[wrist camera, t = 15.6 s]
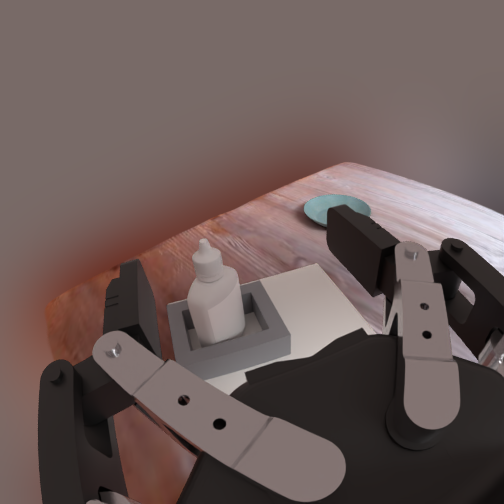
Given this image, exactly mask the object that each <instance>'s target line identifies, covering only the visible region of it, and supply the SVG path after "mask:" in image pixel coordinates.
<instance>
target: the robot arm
mask: <svg viewBox="0 0 504 504" xmlns="http://www.w3.org/2000/svg"><path fill="white" fill-rule="evenodd" d="M326 239H327V245H328V247H329V250H330V251H331V252H332V254H333V255H334V256H335V257H336V258H337V259H338V260H339V261H340V262H341V263H342V264H343V265H344V266H345V267H346V268H347V270H348V271H349V272H350V273H351V274H352V275H353V276H354V277H355V278H356V279H357V280H358V282H359V283H360V284H361V285H362V286H363V287H364V288H365V289H366V290H367V291H368V293H369V294H370V295H371V296H372V297H375V296H377V295H380V294H382V293H383V294H384V295H385V298H384V308H383V333H382V334H372V335H368V334H367V333H366V332H365V330H364V329H363V328H360V329H357V330H355V331H353V332H351V333H348V334H346V335H344V336H341V337H339V338H336V339H335V340H334V341H332V342H331V343H330V344H328V345H327V346H325V347H324V348H323V349H321V350H320V351H318V352H317V353H316V354H314V355H313V356H310V357H306V358H299V359H292V360H285V361H278V362H274V363H271V364H268V365H265V366H262V367H259V368H256V369H253V370H250V371H247V372H244V373H245V376H246V380H247V381H246V382H245V383H243V384H242V385H240V386H239V387H238V388H236V389H235V390H234V391H233V392H232V393H231V394H230V395H228V394H226V393H224V392H222V391H221V390H219V389H217V388H216V387H214V386H212V385H211V384H209V383H207V382H206V381H204V380H203V379H201V378H199V377H198V376H196V375H195V374H193V373H192V372H190V371H189V370H187V369H185V368H184V367H182V366H181V365H179V364H178V363H176V362H175V361H173V360H171V359H167V360H166V361H165V362H164V361H163V360H162V354H161V347H160V339H159V332H158V324H157V315H156V306H155V300H154V296H153V292H152V289H151V287H150V285H149V282H148V280H147V277H146V275H145V272H144V270H143V267H142V265H141V262H140V260H139V259H136V260H132V261H129V262H126V263H122V264H121V265H120V277H119V278H116V279H112V281H111V282H110V284H109V286H108V287H107V289H106V301H105V311H104V325H103V336H102V337H100V338H99V339H98V340H97V342H96V343H95V345H94V347H93V353H92V354H93V355H92V356H90V357H89V358H87V359H86V360H84V361H82V362H80V363H78V364H76V365H75V366H72V365H71V363H70V362H68V361H66V360H56V361H54V362H52V363H51V364H49V365H48V366H47V367H46V368H45V370H44V371H43V373H42V376H41V380H40V391H39V410H38V454H39V472H40V483H41V493H42V501H43V504H142V503H140V502H138V501H136V500H134V499H131V498H129V497H128V493H127V489H126V484H125V480H124V475H123V471H122V466H121V461H120V456H119V450H118V445H117V439H116V433H115V426H114V419H113V415H115V414H117V413H118V412H120V411H122V410H124V409H126V408H128V407H129V406H131V405H133V406H134V407H136V408H137V409H138V410H139V411H140V412H141V413H142V414H143V415H145V416H146V417H147V418H148V419H149V420H150V421H152V422H153V423H154V424H155V425H156V426H158V427H159V428H160V429H161V430H162V431H164V432H165V433H166V434H167V435H168V436H170V437H171V438H172V439H173V440H174V441H175V442H177V443H178V444H179V445H180V446H182V447H183V448H184V449H185V450H187V451H188V452H189V453H191V454H192V455H194V456H195V457H196V458H197V460H196V462H195V465H194V467H193V469H192V471H191V473H190V475H189V478H188V480H187V482H186V484H185V486H184V488H183V491H182V493H181V495H180V497H179V499H178V501H177V503H176V504H504V276H503V275H501V274H500V273H499V272H498V271H497V270H496V269H495V268H494V267H493V266H492V265H490V264H489V263H488V262H487V261H486V260H485V259H484V258H482V257H481V256H480V255H479V254H478V253H477V252H475V251H474V250H473V249H472V248H471V247H469V246H468V245H467V244H466V243H464V242H463V241H461V240H458V239H454V238H447V239H445V240H443V241H442V244H441V248H440V250H435V251H427V250H426V249H425V248H424V247H423V246H421V245H420V244H418V243H415V242H409V241H406V242H400V241H399V240H397V239H396V238H395V237H394V236H393V235H391V234H390V233H389V232H388V231H386V230H385V229H384V228H382V227H381V226H380V225H379V224H377V223H375V221H373V220H372V219H371V218H370V217H368V216H366V215H363V214H361V213H358V212H355V211H354V210H353V209H351V208H350V207H349V206H347V205H346V204H342V205H338V206H334V207H330V208H328V210H327V237H326ZM461 281H463V282H464V283H465V284H466V285H467V286H468V287H469V288H470V289H471V290H472V291H473V292H474V294H475V304H474V306H473V305H472V304H471V303H470V302H469V301H468V300H467V299H466V298H465V297H464V296H463V295H462V294H461V293H460V292H459V291H458V288H459V286H460V283H461ZM448 324H449V325H450V327H451V328H452V329H453V330H454V331H455V332H456V334H457V335H458V336H459V337H460V338H461V340H462V341H463V342H464V343H465V345H466V346H467V347H468V348H469V350H470V351H471V352H472V353H473V355H474V356H475V357H476V358H477V360H478V361H479V364H478V363H474V362H471V361H468V360H465V359H462V358H459V357H456V356H453V355H452V349H451V341H450V333H449V325H448Z"/></svg>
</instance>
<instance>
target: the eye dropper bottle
mask: <svg viewBox="0 0 504 504" xmlns="http://www.w3.org/2000/svg"><path fill="white" fill-rule="evenodd" d="M192 260H193V264H194V268H195V272H196V276H197V277H196V278H195V280H194V282H193V283H192V285H191V287H190V290H189V293H188V297H187V302H188V307H189V310H190V314H191V317H192V320H193V324H194V327H195V330H196V333H197V336H198V339H199V342H200V345H201V348H204V347H208V346H212V345H215V344H219V343H222V342H226V341H230V340H233V339H237V338H240V337H242V336H243V333H244V330H245V316H244V310H243V303H242V297H241V290H240V284H239V278H238V274H237V272H236V270H235V269H233V268H231V267H229V266H225V265H223V263H222V257H221V252H220V251H219V250H218V249H216V248H213V247H210V244H209V242H208V240H207V239H205V238H204V239H201V240H199V250H198V251H196V252H195V253H194V254H193V257H192Z"/></svg>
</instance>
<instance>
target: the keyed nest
mask: <svg viewBox="0 0 504 504" xmlns="http://www.w3.org/2000/svg"><path fill="white" fill-rule="evenodd" d="M240 290H241V297H242V303H243V310H244V316H245V330H244V333H243V336H242V337H240V338H237V339H233V340H230V341H226V342H222V343H219V344H215V345H212V346H208V347H204V348H201V345H200V342H199V339H198V336H197V333H196V330H195V327H194V324H193V320H192V317H191V314H190V310H189V307H188V302H187V299H185V300H181V301H177V302H173V303H169V305H166V306H167V312H168V319H169V325H170V331H171V337H172V343H173V349H174V354H175V360H176V363H178V364H179V365H181V366H182V367H184V368H185V369H187V370H189V371H190V372H192V373H193V374H195V375H196V376H198V377H199V378H201V379H203V380H204V381H206V382H207V383H209V384H211V385H212V386H214V387H216V388H217V389H219V390H221V391H222V392H224V393H226V394H228V395H230V394H231V393H232V392H233V391H234V390H235V389H236V388H238V387H239V386H240V385H242V384H243V383H245V382H246V381H247V380H246V376H245V373H244V372H247V371H250V370H253V369H256V368H259V367H262V366H265V365H268V364H271V363H274V362H278V361H285V360H292V359H299V358H306V357H310V356H313V355H314V354H316V353H317V352H318V351H320V350H321V349H323V348H324V347H325V346H327V345H328V344H330V343H331V342H332V341H334V340H335V339H336V338H339V337H341V336H344V335H346V334H348V333H351V332H353V331H355V330H357V329H360V328H363V329H364V330H365V332H366V333H367V334H368V335H372V334H376V333H375V332H374V330H373V329H372V328H371V327H370V325H369V324H368V323H367V322H366V321H365V319H364V318H363V317H362V316H361V314H360V313H359V312H358V311H357V310H356V308H355V307H354V306H353V305H352V304H351V302H350V301H349V300H348V299H347V298H346V296H345V295H344V294H343V293H342V292H341V290H340V289H339V288H338V287H337V286H336V285H335V283H334V282H333V281H332V280H331V279H330V277H329V276H328V275H327V274H326V273H325V272H324V270H323V269H322V268H321V267H320V266H319V265H318V264H317V263H315V264H312V265H309V266H305V267H302V268H298V269H295V270H291V271H288V272H284V273H281V274H277V275H274V276H270V277H266V278H263V279H259V280H256V281H252V282H248V283H245V284H241V285H240Z"/></svg>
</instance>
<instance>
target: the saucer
mask: <svg viewBox="0 0 504 504" xmlns="http://www.w3.org/2000/svg"><path fill="white" fill-rule="evenodd" d="M342 204H346V205H347V206H349V207H350V208H351V209H353V210H354V211H355V212H358V213H361V214H363V215H366V216H368V217H370V215H371V209H370V207H369V206H368V205H367V204H366V203H365V202H364V201H362V200H360V199H357V198H355V197H351V196H346V195H335V194H332V195H323V196H318V197H315V198H313V199H311V200H309V201H308V202H307V203H306V204H305V205H304V212H305V214H306V215H307V216H308V217H309V218H310V219H312V220H313V221H314V222H316V223H318V224H320V225H322V226H324V227H327V210H328V208H330V207H334V206H338V205H342Z"/></svg>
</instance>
